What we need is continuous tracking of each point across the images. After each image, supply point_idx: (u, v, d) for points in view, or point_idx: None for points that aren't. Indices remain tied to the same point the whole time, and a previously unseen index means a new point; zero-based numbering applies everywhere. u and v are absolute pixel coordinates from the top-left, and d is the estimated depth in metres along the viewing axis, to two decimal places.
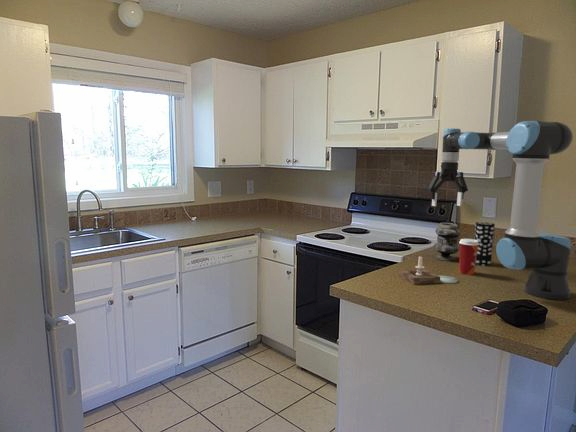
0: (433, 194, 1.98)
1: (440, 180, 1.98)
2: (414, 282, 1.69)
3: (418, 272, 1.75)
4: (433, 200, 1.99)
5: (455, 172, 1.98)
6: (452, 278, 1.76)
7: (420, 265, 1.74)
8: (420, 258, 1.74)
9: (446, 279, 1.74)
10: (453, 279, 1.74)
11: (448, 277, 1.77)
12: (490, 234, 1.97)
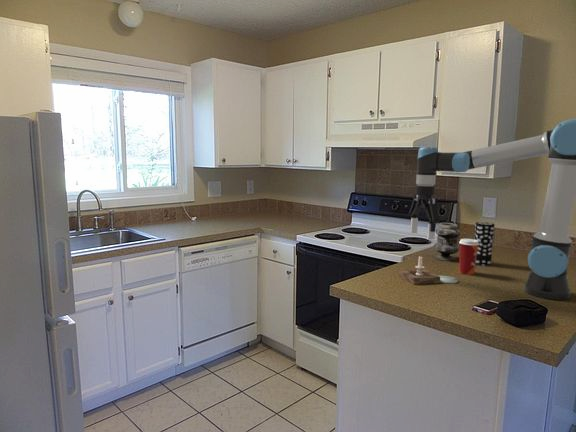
0: None
1: None
2: (414, 282, 1.69)
3: (418, 272, 1.75)
4: None
5: (425, 198, 1.68)
6: (452, 278, 1.76)
7: (420, 265, 1.74)
8: (420, 258, 1.74)
9: (446, 279, 1.74)
10: (453, 279, 1.74)
11: (448, 277, 1.77)
12: (490, 234, 1.97)
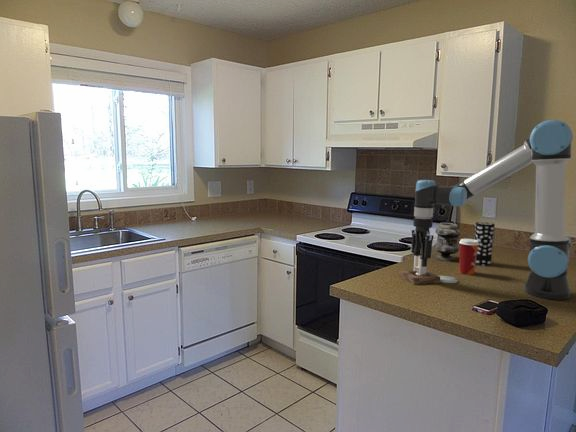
0: None
1: None
2: (414, 282, 1.69)
3: (418, 272, 1.75)
4: None
5: (424, 230, 1.70)
6: (452, 278, 1.76)
7: None
8: None
9: (446, 279, 1.74)
10: (453, 279, 1.74)
11: (448, 277, 1.77)
12: (490, 234, 1.97)
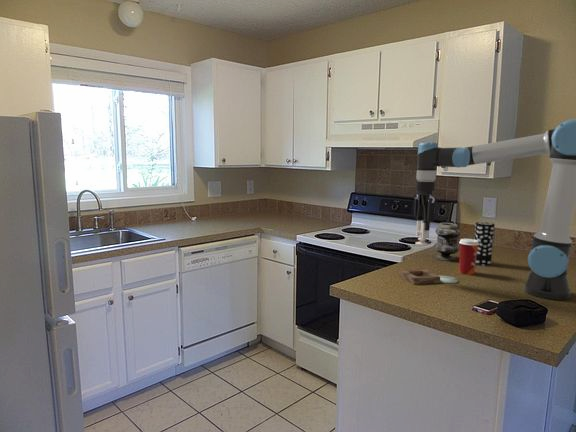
0: None
1: None
2: (414, 282, 1.69)
3: (421, 236, 1.72)
4: None
5: (426, 193, 1.67)
6: (452, 278, 1.76)
7: None
8: None
9: (446, 279, 1.74)
10: (453, 279, 1.74)
11: (448, 277, 1.77)
12: (490, 234, 1.97)
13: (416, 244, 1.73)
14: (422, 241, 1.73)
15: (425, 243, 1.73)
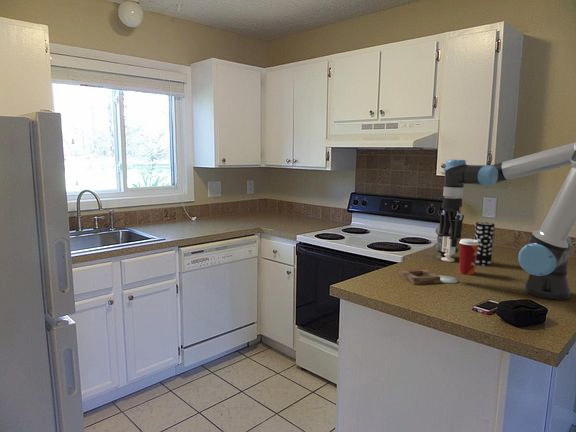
0: (443, 238, 1.76)
1: None
2: (414, 282, 1.69)
3: (447, 252, 1.73)
4: None
5: (453, 210, 1.68)
6: (452, 278, 1.76)
7: None
8: None
9: (446, 279, 1.74)
10: (453, 279, 1.74)
11: (448, 277, 1.77)
12: (490, 234, 1.97)
13: None
14: (448, 257, 1.73)
15: (451, 259, 1.73)
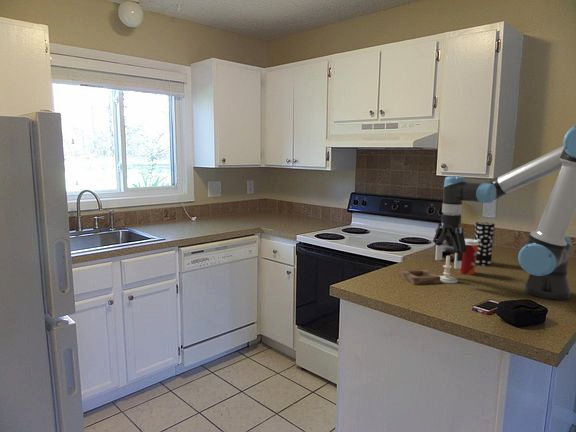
0: None
1: None
2: (414, 282, 1.69)
3: (446, 271, 1.74)
4: None
5: (452, 227, 1.69)
6: None
7: (448, 264, 1.74)
8: (448, 257, 1.73)
9: None
10: (453, 279, 1.74)
11: None
12: (490, 234, 1.97)
13: (441, 278, 1.75)
14: (447, 276, 1.74)
15: (450, 278, 1.74)
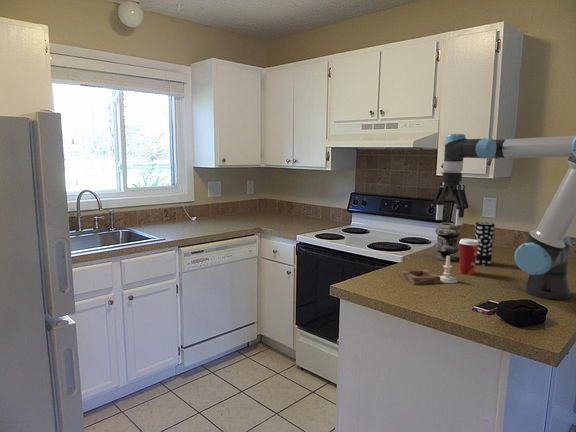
0: None
1: None
2: (414, 282, 1.69)
3: (446, 271, 1.74)
4: None
5: (453, 184, 1.70)
6: None
7: (448, 264, 1.74)
8: (448, 257, 1.73)
9: None
10: (453, 279, 1.74)
11: None
12: (490, 234, 1.97)
13: None
14: (447, 276, 1.74)
15: (450, 278, 1.74)
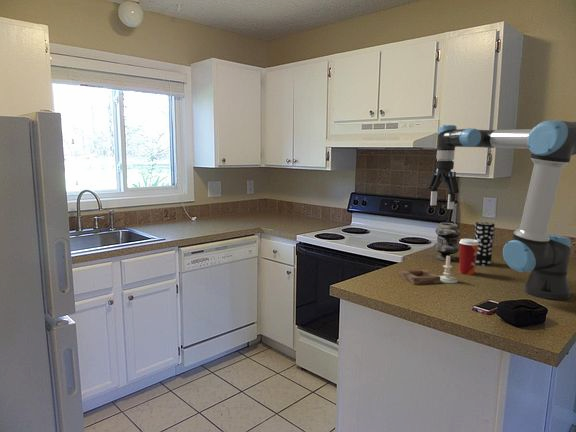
0: None
1: None
2: (414, 282, 1.69)
3: (446, 271, 1.74)
4: None
5: (445, 171, 1.85)
6: None
7: (448, 264, 1.74)
8: (448, 257, 1.73)
9: None
10: (453, 279, 1.74)
11: None
12: (490, 234, 1.97)
13: None
14: (447, 276, 1.74)
15: (450, 278, 1.74)
